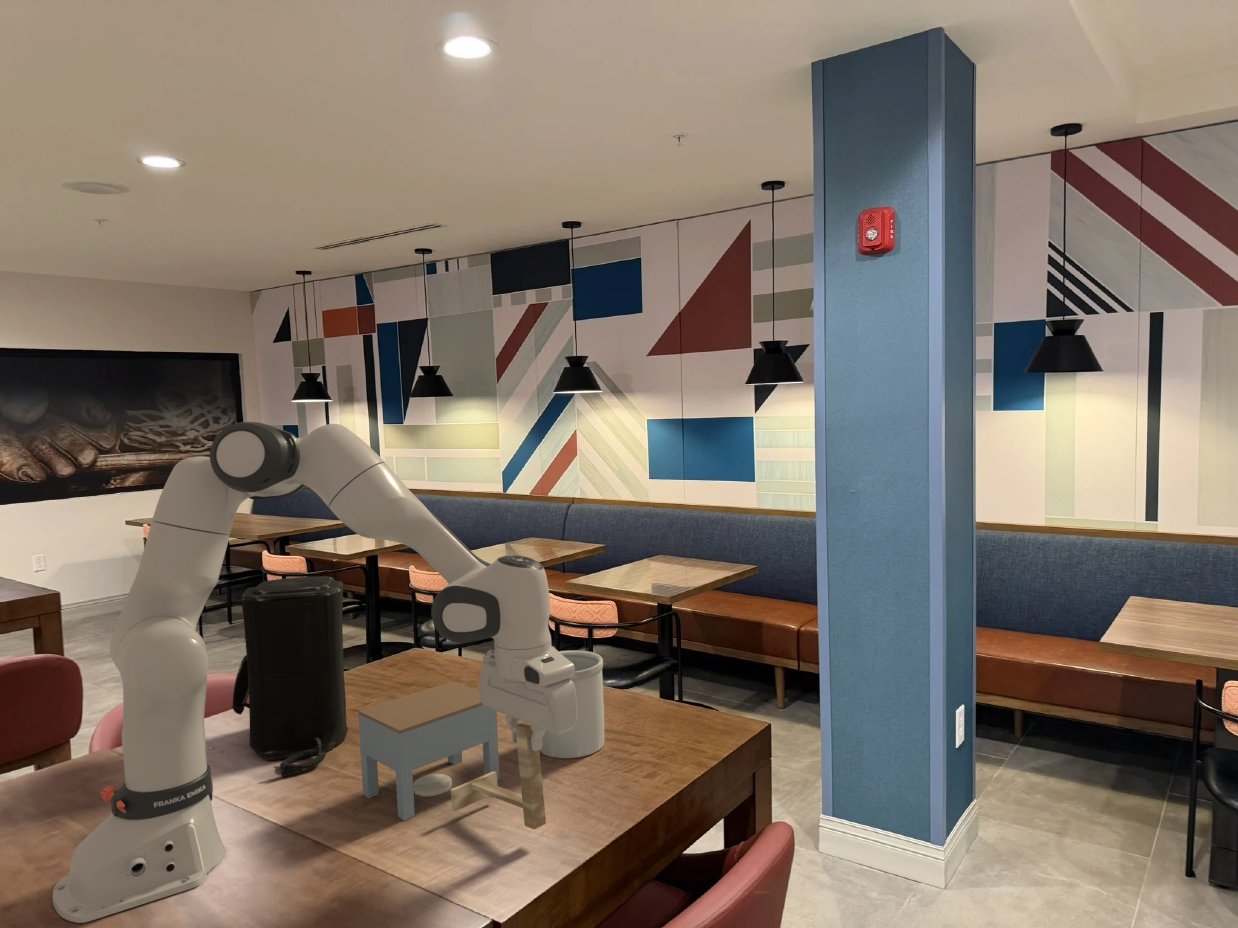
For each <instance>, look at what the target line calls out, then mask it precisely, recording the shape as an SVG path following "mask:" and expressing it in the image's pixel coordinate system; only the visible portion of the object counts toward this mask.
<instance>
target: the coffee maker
mask: <svg viewBox="0 0 1238 928" xmlns="http://www.w3.org/2000/svg"><path fill="white" fill-rule="evenodd" d="M240 601H241V607H242V608H241V609H242V617H243V627H244V639H245V640H244V641H245V650H246V651H245V653H246V654H245V655H244V656H243V658H242V660H241V663H240V664H239V667H238V670H237V673H236V677H235V681H234V685H233V691H232V692H233V693H232V702H231V703H232V710H233V712H234V713H235V714H238V715H240V716H241V715H242V714H243V713H244V711H245V708H247V709H248V711H249V713H248V714H249V716H248V717H249V747H250V748H251V749H252V750H253V751H254V752H255V753H256V754H258V755H259V757H261V758H265V760H266V761H274V760H282V761H281V763H279V765H274V766H273V768H274V769H279V770H281V773H280V775H281V778H285V776H288V775H293V774H295V773H298V772H303V771H304V770H306V769H310V768H314V767H315V766H317V765H319V764H321V763H322V762H323V761H324V759H325V757H326V756H327V752H329V751H332V750H334V749H335V747H337V746H338V745H340V744H341V742H344V741H345V739H346V737H347V734H348V730H349V728H348V725H347V724H348V723H347V710H346V709H347V701H346V700H347V699H346V686H345V685H346V683H345V669H344V668H345V667H344V666H345V665H344V639H343V637H344V636H343V634H344V633H343V612H344V611H343V608H344V607H343V606H344V605H343V601H344V583H343V582H342V580H335V578H333V577H331V576H327V575H323V576H322V575H321V576H318V575H317V576H300V577H298V576H297V577H287V578H276V579H269V580H264V581H262V582H260V583H259V584H258V585H257V586H252V587H251V586H250V587H248V588H247V589H246V590H245V591H244V592H243V593H242V594H241V598H240ZM247 701H248V702H247ZM309 756H310V757H311V756H315V758H313V759H312V760H310V761H307V762H303V763H300V764H299V763H298V764H296V763H293V762H295V761H297V760H300V759H304V758H306V757H309Z"/></svg>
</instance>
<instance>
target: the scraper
mask: <svg viewBox="0 0 1238 928" xmlns="http://www.w3.org/2000/svg"><path fill="white" fill-rule="evenodd" d="M515 728H516V739H517V743H516V746H517V747H516V748H517V758H518V769H519V780H520V791H521V792H520V793H521V794H520V793H518V792H514V791H513V790H509V789H507V788H503V787H501V786H499V784H498V780H497V772H495V771H493V772H491V773H488V774H486V775H484V774H483V775H481V776H479V777H476V778H474V779H471V780H469V781H468V782H464V783H463V784H460V785H458V786H455V787H452V788H450V797H451V798H450V799H451V810H452V811H453V812H456V811H460V810H462V809H463V808H466V807H468V806H470V805H472V804H475V803H476V802H479V801H481V800H484V799H486V798H488V797H493V798H495V799H498V800H500V801H503V802H506V803H507V804H511V805H513V806H516V807H519V808H521V809H522V811H523V822H524V826H525V827H526V828H530V829H532V830H537V829H538V828H540V827H542V826H544V825H546V824H547V820H546V819H547V817H546V810H545V809H546V807H545V798H544V786H543V775H542V766H541V757H540V756H541V755H540V754H541V752H540V751H539V750H538V751H533V750H531V749H529V748H528V738H530V737H532V734H533V730H531V724H529V723H526V722H523V721H521V723H520V724H517V725H515Z"/></svg>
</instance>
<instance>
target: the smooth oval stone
mask: <svg viewBox="0 0 1238 928" xmlns="http://www.w3.org/2000/svg"><path fill="white" fill-rule="evenodd" d="M452 781H453V779H452V777H450V776H449V775H447V774H442V773H432V774H427V775H424V776H421V777H419V778H417V779H415V780H414V781H413V792H414V794H415V795H417V796H419V795H420V796H419V797H435V796H439V795H442V794H444V793H446V792H448V791H450V790H451V789H452V788H453V787H452V786H453V782H452Z"/></svg>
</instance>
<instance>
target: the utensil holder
mask: <svg viewBox="0 0 1238 928" xmlns="http://www.w3.org/2000/svg"><path fill="white" fill-rule="evenodd" d="M558 652H559V653H560V654H562V655H563V656H564V657H565V658H567V659H568V660H569V661H571V662H572V663H573V664H574V667H575V674H574V676H573V677H570V678H569V679H571V681H572V682H573V684H574V686H575V691H576V701H577V722H576V724H575V726H574V728H573V729H571V730H569V731H567V732H565V733H562V734H559V735H557V734H554V733H552V732H549V731H547V730H546V732H545V734H544V736H543V738H542V748H541V749H540V750H539V753H540V754H541V755H545V756H546V757H550V758H556V759H576V758H582V757H587V756H590V755H592V754H595V753H596V752H598V751H600V749H602V748H603V746H604V744H605V705H604V703H605V702H604V677H603V667H604V659H603V657H602V656H601V655H600V654H597V653H595V652H592V651H588V650H587V651H586V650H560V651H558Z"/></svg>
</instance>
